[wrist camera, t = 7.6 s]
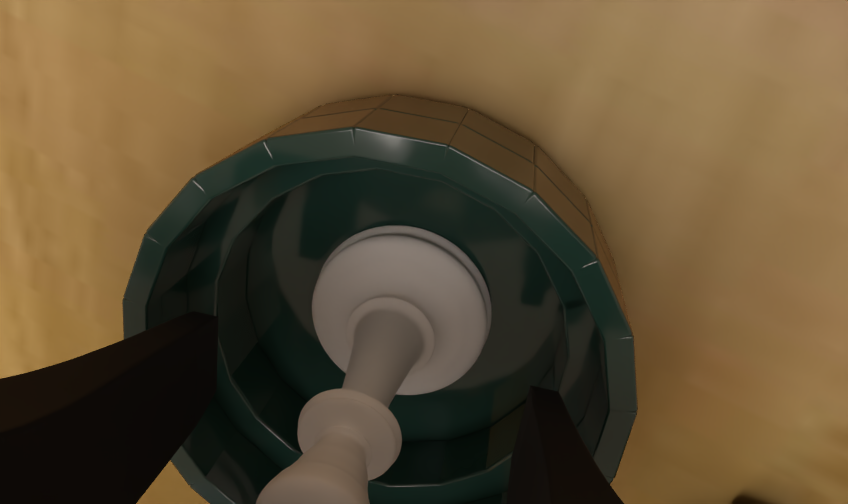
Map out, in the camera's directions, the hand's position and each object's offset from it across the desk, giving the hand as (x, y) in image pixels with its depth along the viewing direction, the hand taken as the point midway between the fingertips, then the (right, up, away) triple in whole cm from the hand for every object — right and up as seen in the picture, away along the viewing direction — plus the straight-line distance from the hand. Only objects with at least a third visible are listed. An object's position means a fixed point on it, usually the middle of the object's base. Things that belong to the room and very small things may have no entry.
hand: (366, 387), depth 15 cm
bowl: (+1, +2, +4) cm, 4 cm away
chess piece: (+1, +2, +4) cm, 4 cm away
